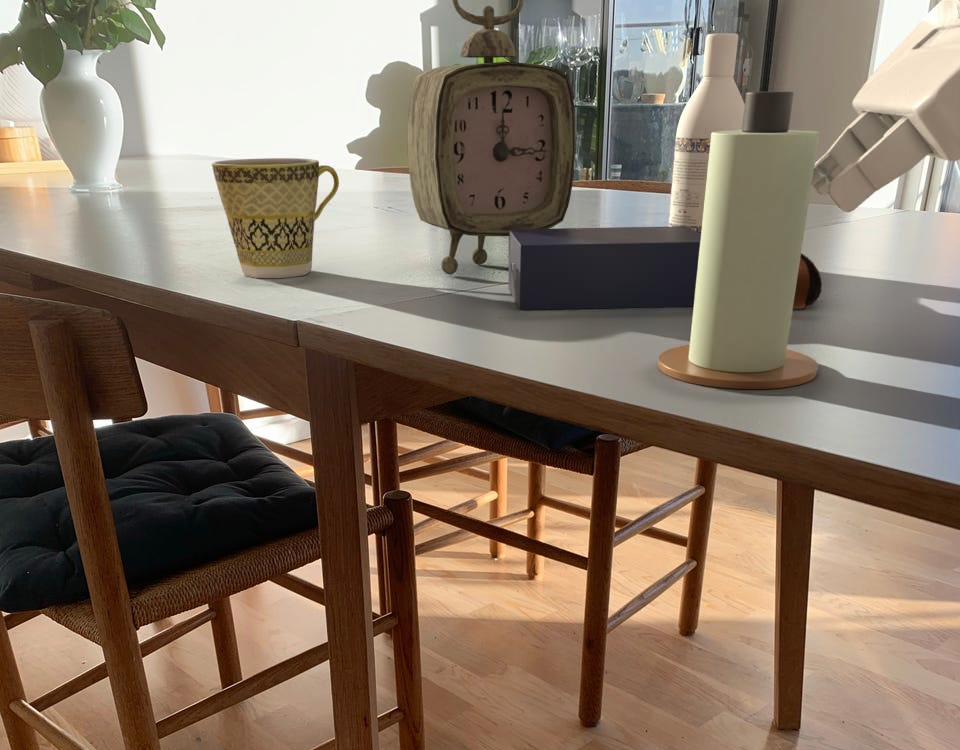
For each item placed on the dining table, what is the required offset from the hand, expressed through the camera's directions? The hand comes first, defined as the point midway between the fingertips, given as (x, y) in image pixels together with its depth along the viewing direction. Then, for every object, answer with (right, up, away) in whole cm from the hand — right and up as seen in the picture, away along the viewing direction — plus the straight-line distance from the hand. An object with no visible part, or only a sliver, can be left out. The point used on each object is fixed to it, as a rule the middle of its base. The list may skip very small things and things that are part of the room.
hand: (823, 193), depth 55 cm
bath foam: (+3, +13, +42) cm, 44 cm away
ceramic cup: (-39, +11, +40) cm, 57 cm away
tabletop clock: (-19, +12, +41) cm, 47 cm away
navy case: (-9, +4, +27) cm, 29 cm away
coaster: (-4, -9, +6) cm, 11 cm away
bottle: (-4, -8, +5) cm, 10 cm away
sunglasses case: (+4, +5, +29) cm, 30 cm away
